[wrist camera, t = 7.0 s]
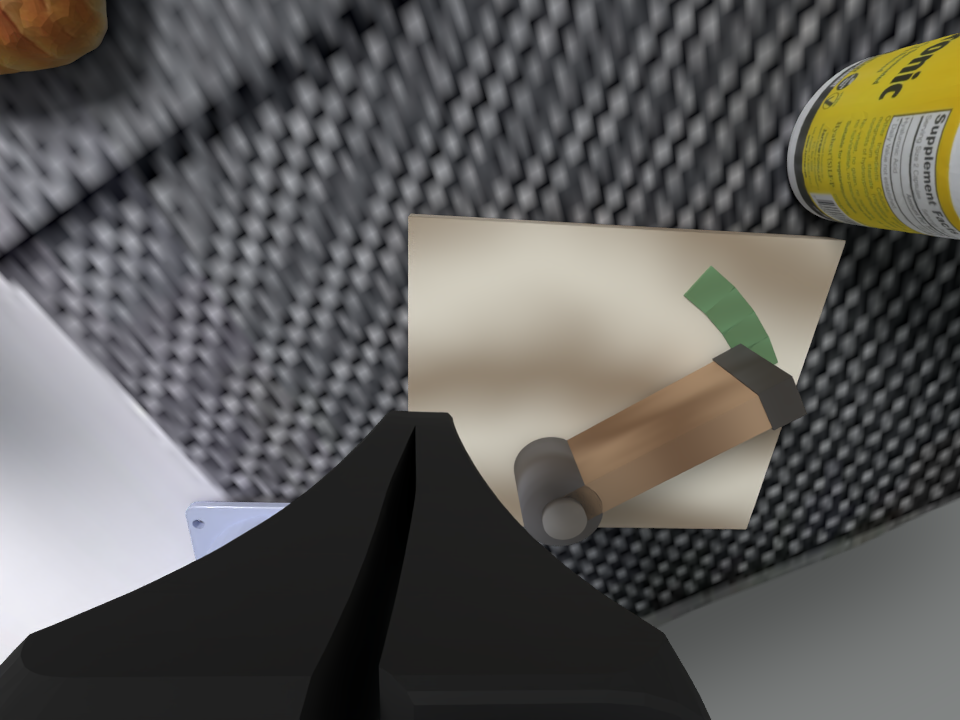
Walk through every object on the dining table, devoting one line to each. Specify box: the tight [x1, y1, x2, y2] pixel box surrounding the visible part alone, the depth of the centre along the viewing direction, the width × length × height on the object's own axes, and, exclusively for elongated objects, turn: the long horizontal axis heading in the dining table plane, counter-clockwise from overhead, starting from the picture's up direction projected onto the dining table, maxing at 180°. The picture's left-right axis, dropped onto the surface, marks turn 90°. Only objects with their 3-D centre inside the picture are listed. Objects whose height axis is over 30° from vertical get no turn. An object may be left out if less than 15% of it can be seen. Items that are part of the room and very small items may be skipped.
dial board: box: [408, 214, 846, 529], centre depth 20 cm, size 14×16×1 cm
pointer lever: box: [514, 343, 807, 546], centre depth 18 cm, size 11×3×3 cm, turn 122°
